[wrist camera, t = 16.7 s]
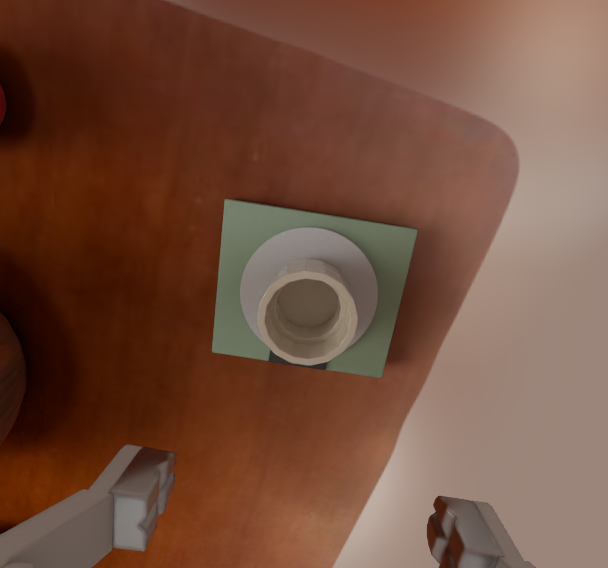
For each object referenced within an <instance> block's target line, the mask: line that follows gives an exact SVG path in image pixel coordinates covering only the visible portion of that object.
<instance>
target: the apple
mask: <svg viewBox="0 0 608 568" xmlns="http://www.w3.org/2000/svg"><path fill="white" fill-rule="evenodd" d="M5 113H6V98H5V94H4V91H3V89H2V86H1V84H0V125H1V123H2V121H3V119H4V116H5Z"/></svg>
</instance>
